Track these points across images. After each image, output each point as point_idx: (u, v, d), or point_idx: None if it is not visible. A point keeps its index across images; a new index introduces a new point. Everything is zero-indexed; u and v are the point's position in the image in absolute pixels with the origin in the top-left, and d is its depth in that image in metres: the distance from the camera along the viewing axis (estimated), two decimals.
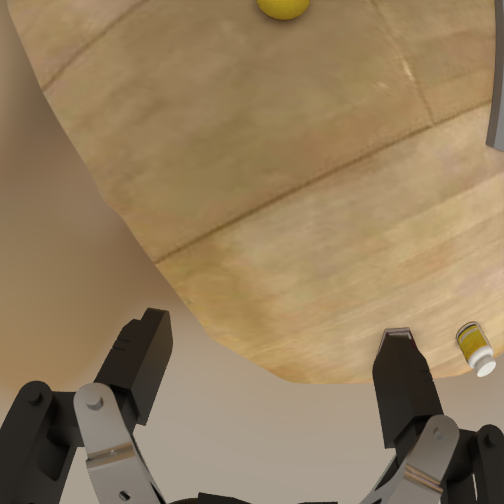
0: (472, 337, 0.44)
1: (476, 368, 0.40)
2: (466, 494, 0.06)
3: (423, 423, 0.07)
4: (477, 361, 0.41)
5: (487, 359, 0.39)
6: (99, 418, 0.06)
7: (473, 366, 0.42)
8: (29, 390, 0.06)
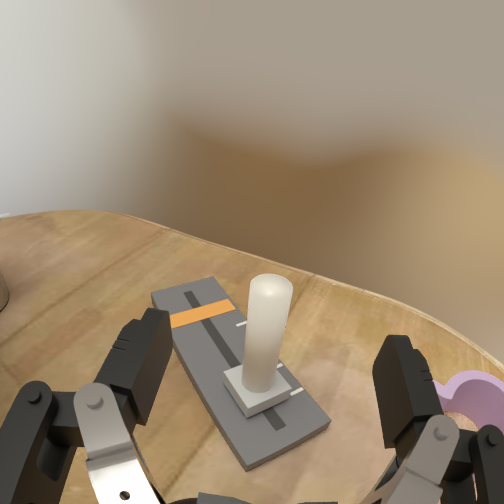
0: None
1: None
2: (466, 494, 0.06)
3: (423, 423, 0.07)
4: None
5: None
6: (99, 418, 0.06)
7: None
8: (29, 389, 0.06)
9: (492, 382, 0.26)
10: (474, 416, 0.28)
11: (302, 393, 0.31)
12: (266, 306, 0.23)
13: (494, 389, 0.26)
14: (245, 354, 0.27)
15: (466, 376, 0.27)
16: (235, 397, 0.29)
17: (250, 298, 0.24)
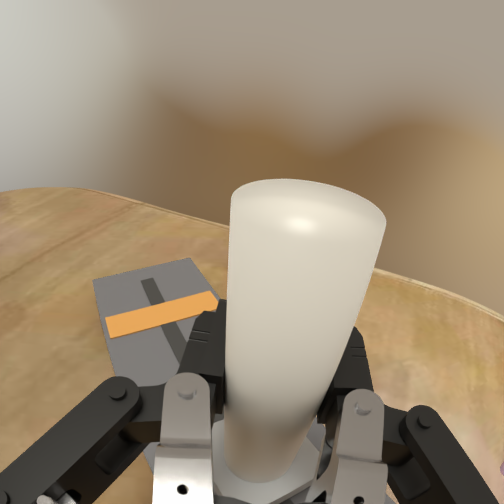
0: None
1: None
2: (416, 474, 0.07)
3: None
4: None
5: None
6: (187, 409, 0.07)
7: None
8: (115, 385, 0.07)
9: None
10: None
11: None
12: (296, 273, 0.05)
13: None
14: (227, 417, 0.09)
15: None
16: None
17: (232, 249, 0.06)
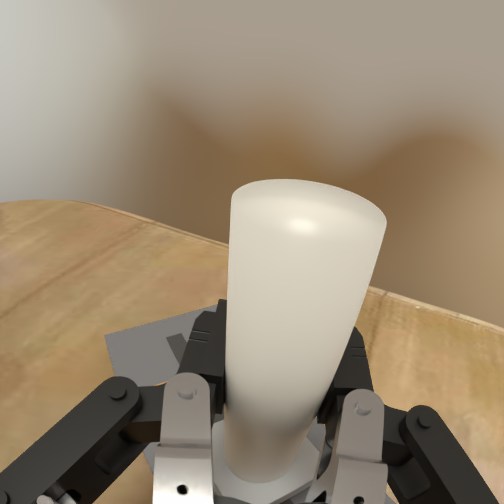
0: None
1: None
2: (416, 474, 0.07)
3: None
4: None
5: None
6: (186, 409, 0.07)
7: None
8: (115, 385, 0.07)
9: None
10: None
11: None
12: (296, 273, 0.05)
13: None
14: (227, 417, 0.09)
15: None
16: None
17: (232, 249, 0.06)
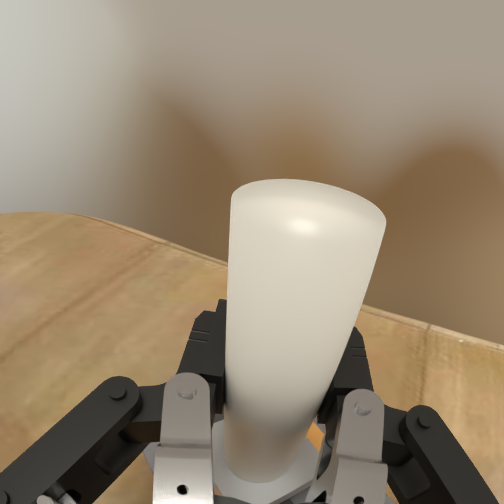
0: None
1: None
2: (416, 474, 0.07)
3: None
4: None
5: None
6: (187, 409, 0.07)
7: None
8: (115, 385, 0.07)
9: None
10: None
11: None
12: (296, 273, 0.05)
13: None
14: (227, 417, 0.09)
15: None
16: None
17: (232, 249, 0.06)
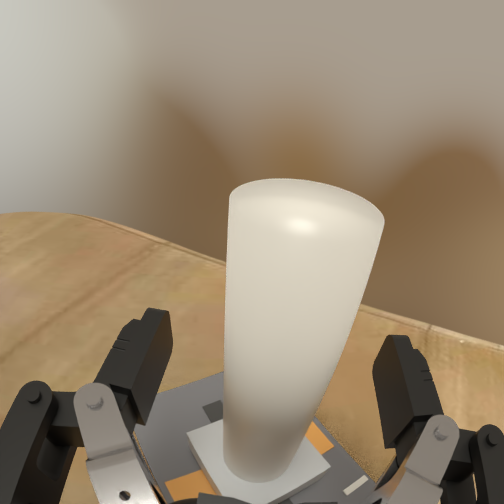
0: None
1: None
2: (466, 494, 0.06)
3: (423, 423, 0.07)
4: None
5: None
6: (99, 418, 0.06)
7: None
8: (29, 389, 0.06)
9: None
10: None
11: None
12: (294, 273, 0.05)
13: None
14: (226, 416, 0.09)
15: None
16: (211, 484, 0.12)
17: (230, 248, 0.06)
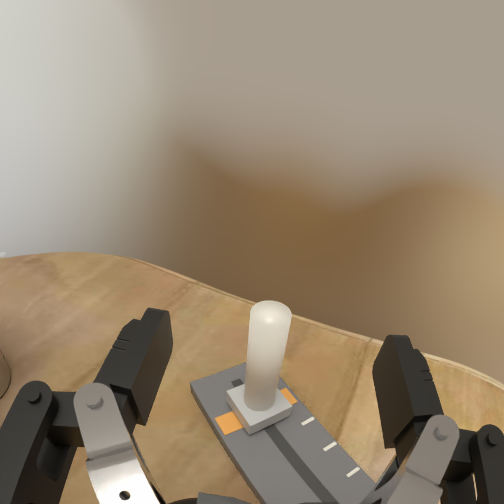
0: None
1: None
2: (466, 494, 0.06)
3: (423, 423, 0.07)
4: None
5: None
6: (99, 418, 0.06)
7: None
8: (29, 389, 0.06)
9: None
10: None
11: None
12: (266, 333, 0.23)
13: None
14: (247, 376, 0.27)
15: None
16: (238, 415, 0.30)
17: (250, 325, 0.24)
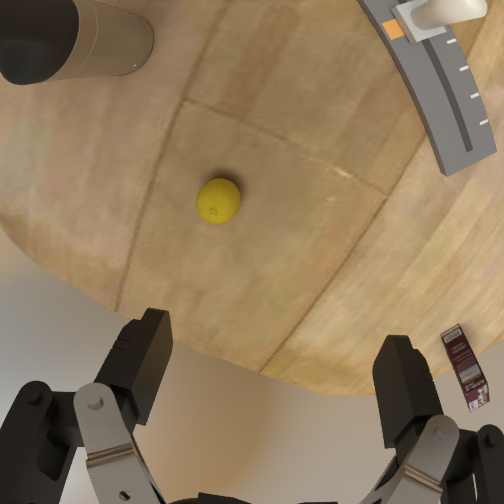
0: None
1: None
2: (466, 494, 0.06)
3: (423, 423, 0.07)
4: None
5: None
6: (100, 418, 0.06)
7: None
8: (29, 390, 0.06)
9: None
10: None
11: (486, 124, 0.31)
12: (467, 15, 0.16)
13: None
14: (427, 13, 0.21)
15: None
16: (403, 26, 0.27)
17: (455, 1, 0.15)
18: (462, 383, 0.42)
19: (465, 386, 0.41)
